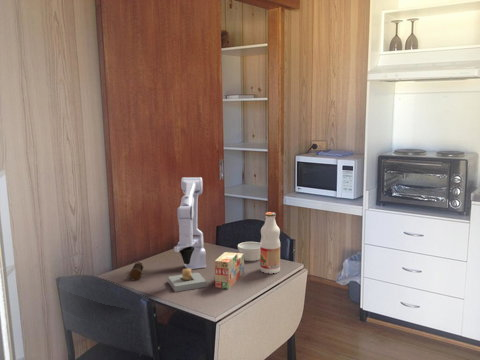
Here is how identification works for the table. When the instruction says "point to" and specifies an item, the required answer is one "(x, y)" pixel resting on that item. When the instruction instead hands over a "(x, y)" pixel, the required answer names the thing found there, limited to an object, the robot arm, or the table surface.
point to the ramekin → (250, 250)
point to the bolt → (136, 271)
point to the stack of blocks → (228, 269)
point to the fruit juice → (270, 245)
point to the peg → (186, 275)
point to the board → (187, 282)
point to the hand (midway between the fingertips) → (186, 263)
